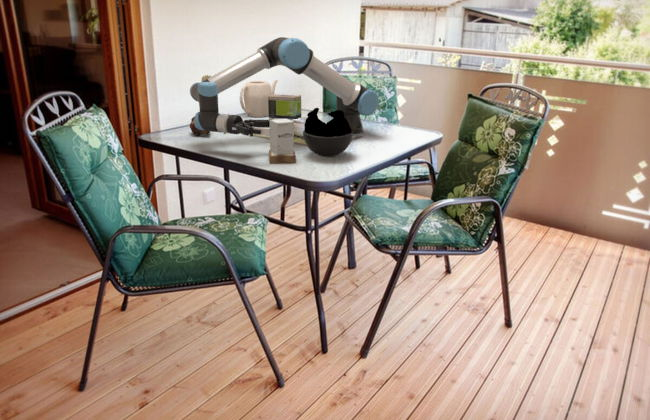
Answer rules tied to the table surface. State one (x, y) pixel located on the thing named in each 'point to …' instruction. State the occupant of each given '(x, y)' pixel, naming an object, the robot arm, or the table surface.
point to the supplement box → (281, 136)
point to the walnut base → (282, 158)
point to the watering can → (256, 97)
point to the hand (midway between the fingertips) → (277, 129)
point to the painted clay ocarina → (197, 131)
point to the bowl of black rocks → (327, 133)
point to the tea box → (284, 106)
